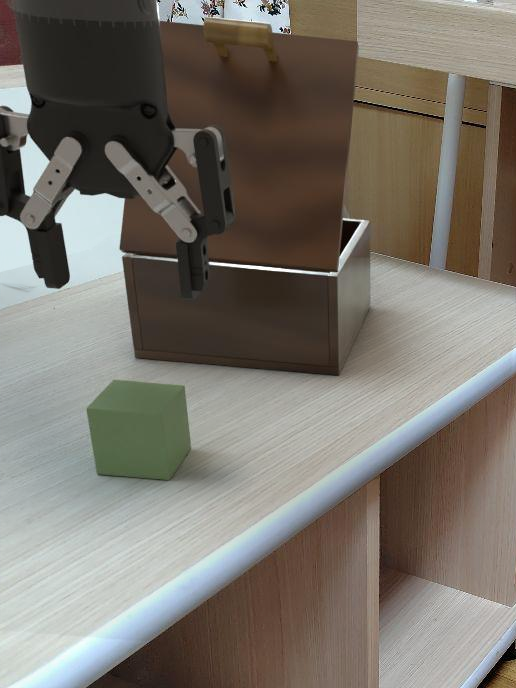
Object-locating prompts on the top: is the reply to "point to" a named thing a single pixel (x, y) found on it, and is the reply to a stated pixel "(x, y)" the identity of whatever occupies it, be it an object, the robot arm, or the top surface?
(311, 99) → the lid
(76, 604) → the top surface
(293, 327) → the chest
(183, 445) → the block
